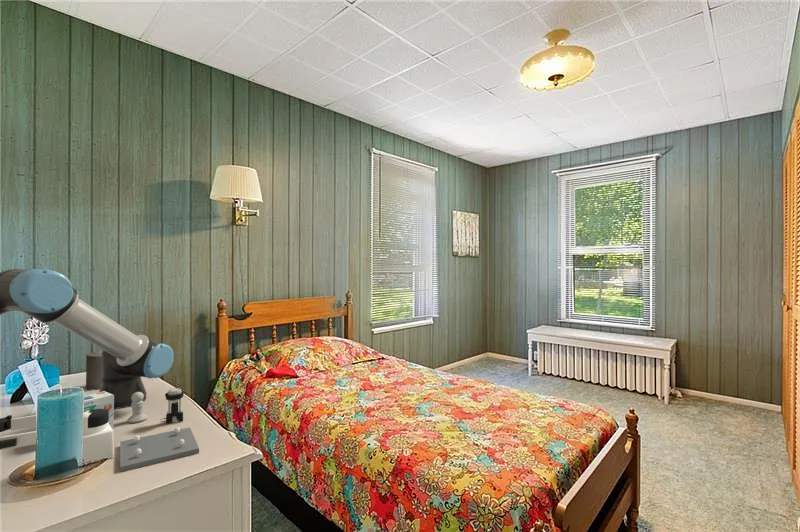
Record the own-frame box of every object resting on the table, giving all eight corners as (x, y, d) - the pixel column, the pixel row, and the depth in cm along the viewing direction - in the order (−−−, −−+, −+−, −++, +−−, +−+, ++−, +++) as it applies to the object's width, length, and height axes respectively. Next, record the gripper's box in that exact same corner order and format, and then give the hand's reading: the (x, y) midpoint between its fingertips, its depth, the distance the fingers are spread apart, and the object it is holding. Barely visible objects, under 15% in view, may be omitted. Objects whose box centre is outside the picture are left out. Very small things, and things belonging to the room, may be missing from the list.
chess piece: (135, 417, 131) (135, 389, 131) (151, 417, 130) (151, 389, 130) (123, 423, 125) (123, 394, 125) (139, 423, 125) (139, 394, 125)
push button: (159, 426, 123) (159, 394, 123) (160, 421, 127) (160, 389, 127) (184, 422, 126) (184, 391, 126) (184, 417, 130) (184, 386, 130)
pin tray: (120, 446, 109) (120, 434, 109) (189, 431, 119) (189, 420, 119) (120, 471, 95) (120, 458, 95) (199, 452, 105) (199, 440, 105)
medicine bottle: (108, 449, 108) (108, 404, 108) (113, 458, 102) (113, 411, 102) (74, 458, 102) (74, 411, 103) (78, 467, 97) (78, 418, 97)
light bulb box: (71, 443, 111) (71, 404, 111) (61, 437, 115) (62, 400, 115) (115, 429, 120) (115, 394, 120) (104, 425, 124) (104, 390, 124)
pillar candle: (79, 388, 162) (80, 351, 162) (103, 382, 171) (104, 347, 171) (97, 391, 159) (97, 353, 159) (121, 384, 168) (121, 348, 168)
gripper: (-70, 446, 95) (49, 426, 107) (-122, 494, 74) (32, 463, 86) (-69, 414, 95) (49, 398, 107) (-121, 453, 74) (33, 428, 86)
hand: (42, 427), depth 97 cm, fingers open, 13 cm apart
